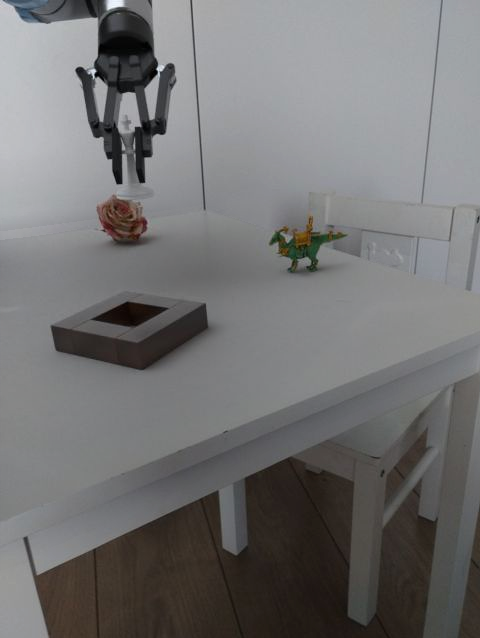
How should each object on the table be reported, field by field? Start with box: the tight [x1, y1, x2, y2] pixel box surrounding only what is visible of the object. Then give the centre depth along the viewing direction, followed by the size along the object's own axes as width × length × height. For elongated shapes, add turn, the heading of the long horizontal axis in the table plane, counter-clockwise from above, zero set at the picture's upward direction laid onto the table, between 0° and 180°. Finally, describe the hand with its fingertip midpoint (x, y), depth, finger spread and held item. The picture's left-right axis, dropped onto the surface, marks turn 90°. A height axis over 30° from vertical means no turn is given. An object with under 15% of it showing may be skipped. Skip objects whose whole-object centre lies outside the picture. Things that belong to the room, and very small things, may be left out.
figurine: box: [268, 214, 349, 274], centre depth 84 cm, size 3×12×8 cm, turn 100°
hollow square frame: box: [50, 290, 209, 371], centre depth 64 cm, size 12×12×3 cm
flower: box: [94, 194, 148, 246], centre depth 107 cm, size 10×9×8 cm
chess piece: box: [116, 114, 156, 201], centre depth 73 cm, size 5×5×10 cm
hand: (129, 176), depth 71 cm, fingers closed on chess piece, 2 cm apart
